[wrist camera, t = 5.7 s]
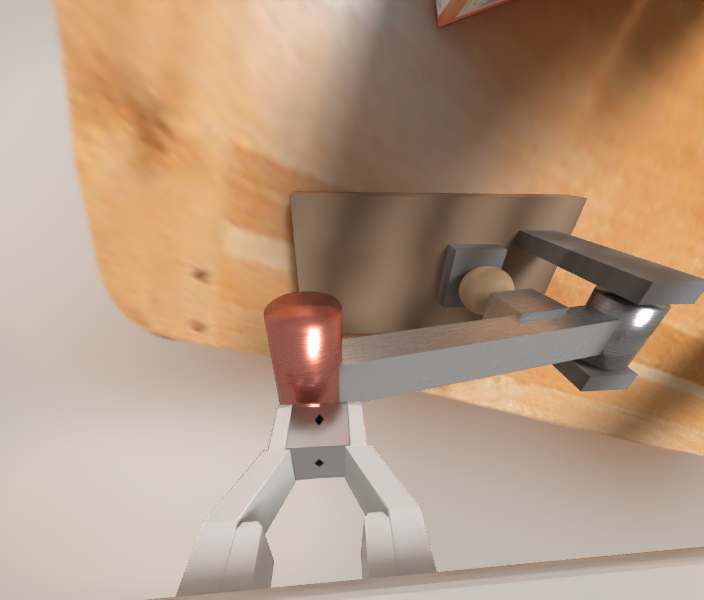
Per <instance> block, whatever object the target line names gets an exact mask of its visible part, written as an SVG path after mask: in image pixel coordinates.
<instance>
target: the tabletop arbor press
mask: <svg viewBox="0 0 704 600" xmlns="http://www.w3.org/2000/svg"><path fill="white" fill-rule="evenodd" d="M586 200H587V198H583V197H577V196H571V195H547V194H454V193H362V192H293V193H292V194H291V195H290V203H291V214H292V224H293V235H294V245H295V256H296V266H297V277H298V287H299V292H301V291H315V292H322V293H326V294H329V295H331V296H333V297H335V298H336V299H337V300H339V302H340V303H341V305H342V334H367V333H391V332H399V331H406V330H413V329H420V328H427V327H434V326H441V325H448V324H456V323H463V322H470V321H477V320H482V317H483V314H484V311H485V308H486V305H487V302H488V299H489V296H490V293H495V292H503V291H512V290H521V289H530V288H532V289H534V290H536V291H538V292H540V293H542V294H543V295H544V294H545V292H546V290H547V288H548V285H549V283H550V281H551V279H552V276H553V274H554V272H555V270H556V267H557V266H558V267H560V268H562V269H565V270H567V271H569V272H571V273H573V274H575V275H577V276H579V277H581V278H583V279H585V280H587V281H589V282H592V283H594V284H596V285H598V286H600V287H602V288H604V289H606V290H608V291H610V292H612V293H614V294H616V295H619V296H621V297H623V298H625V299H627V300H629V301H631V302H633V303H635V304H637V305H658V304H694V303H695V302H696V300H697V299H698V298H699V297H700V295H701V294H702V293H703V292H704V279H702V278H699V277H696V276H693V275H690V274H687V273H684V272H681V271H678V270H675V269H672V268H669V267H666V266H663V265H660V264H657V263H653V262H650V261H647V260H644V259H641V258H638V257H635V256H632V255H629V254H626V253H623V252H620V251H617V250H614V249H611V248H608V247H605V246H602V245H599V244H595V243H592V242H589V241H586V240H583V239H580V238H577V237H574V236H571V233H572V231H573V229H574V227H575V224H576V222H577V220H578V218H579V215H580V213H581V211H582V209H583V206H584V204H585V202H586ZM552 365H553V366H554V367H555V368H557V369H558V370H559V371H560V372H561V373H562V374H563V375H564V376H565V377H566V378H567V379H568V380H569V381H570V382H571V383H573V384H574V385H575V386H576V387H577V388H578V389H579V390H580V391H598V390H617V389H627V388H628V387H629V386H630V384H631V383H632V382H633V381H634V379H635V378H636V377H637V376H638V374H637V373H635V372H634V371H632V370H631V369H629V368H628V367H627V368H626V369H624V370H620V371H613V370H607V369H602V368H599V367H596V366H593V365H591V364H588V363H586V362H584V361H582V360H580V359H575V360H570V361H565V362H560V363H555V364H552Z"/></svg>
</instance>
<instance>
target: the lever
mask: <svg viewBox="0 0 704 600" xmlns="http://www.w3.org/2000/svg"><path fill="white" fill-rule="evenodd" d="M670 308H671V307H670V305H669V304H658V305H637V304H635V303H633V302H631V301H629V300H627V299H625V298H623V297H621V296H619V295H616V294H614V293H612V292H610V291H608V290H606V289H604V288H602V287H600V286H596V287H595V288H594V290H593V292H592V294H591V295H590V297H589V299H588V301H587V303H586V305H584V306H577V307H570V308H568V307H566V306H564V305H562V304H561V303H559V302H557V301H555V300H553V299H551V298H549V297H547V296H545V295H543V294H542V293H540V292H538V291H536V290H534V289H532V288H530V289H521V290H512V291H503V292H495V293H490V296H489V299H488V302H487V305H486V308H485V311H484V314H483V317H482V320H477V321H470V322H463V323H456V324H448V325H441V326H434V327H427V328H420V329H413V330H406V331H399V332H391V333H384V334H377V335H370V336H363V337H356V338H349V339H342V305H341V303H340V302H339V300H337V299H336V298H335V297H333V296H331V295H329V294H326V293H322V292H315V291H301V292H294V293H290V294H286V295H283V296H281V297H278V298H276V299H275V300H273V301H272V302H270V303H269V304H268V305H267V307H266V308H265V310H264V319H265V325H266V330H267V336H268V341H269V347H270V352H271V358H272V364H273V369H274V375H275V380H276V385H277V391H278V396H279V402H280V405H284V404H320V403H330V402H346V401H347V402H353V401H360V402H364V401H369V400H374V399H379V398H384V397H389V396H394V395H399V394H405V393H409V392H415V391H420V390H425V389H430V388H435V387H440V386H445V385H450V384H455V383H460V382H465V381H470V380H475V379H480V378H485V377H490V376H495V375H500V374H505V373H510V372H515V371H520V370H525V369H530V368H535V367H540V366H545V365H550V364H555V363H560V362H565V361H570V360H575V359H580V360H582V361H584V362H586V363H588V364H591V365H593V366H596V367H599V368H602V369H607V370H613V371H620V370H624V369H626V368H627V366H628V365H629V364H630V362H631V361H632V360H633V358H634V357H635V356H636V354H637V353H638V352H639V350H640V349H641V348H642V346H643V345H644V344H645V342H646V341H647V339H648V338H649V337H650V335H651V334H652V333H653V331H654V330H655V329H656V327H657V326H658V325H659V323H660V322H661V321H662V319H663V318H664V317H665V315H666V314H667V313H668V311H669V310H670Z"/></svg>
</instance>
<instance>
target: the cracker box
mask: <svg viewBox="0 0 704 600" xmlns="http://www.w3.org/2000/svg"><path fill="white" fill-rule="evenodd" d="M508 1H511V0H435V2H436V11H437V26H438V27H442V26H444V25H447V24H450V23H452V22H455V21H457V20H460V19H463V18H465V17H468V16H471V15H473V14H476V13H479V12H482V11H484V10H487V9H490V8H492V7H495V6H498V5H500V4H503V3H505V2H508Z"/></svg>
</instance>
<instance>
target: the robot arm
mask: <svg viewBox="0 0 704 600" xmlns="http://www.w3.org/2000/svg"><path fill="white" fill-rule="evenodd" d="M320 477H321V478H328V477H345V479H346V481H347V483H348V485H349V486H350V488H351V490H352V492H353V494H354V495H355V497H356V499H357V501H358V503H359V504H360V506H361V508H362V510H363V511H364V513H365V515H366V517H365V519H364V528H363V539H362V548H361V560H362V575H363V579H361V580H350V581H339V582H328V583H317V584H307V585H297V586H287V587H275V588H270V587H271V579H272V572H273V564H274V560H273V557H272V554H271V551H270V548H269V545H268V542H267V539H266V537H265V533H266V532H267V530H268V528H269V526H270V525H271V523H272V521H273V520H274V518H275V516H276V515H277V513H278V511H279V509H280V508H281V506H282V504H283V503H284V501H285V499H286V497H287V496H288V494H289V492H290V491H291V489H292V487H293V485H294V484H295V480H302V479H312V478H320ZM150 600H704V547H696V548H686V549H675V550H664V551H655V552H644V553H634V554H623V555H612V556H601V557H591V558H581V559H570V560H560V561H549V562H538V563H528V564H517V565H507V566H497V567H486V568H476V569H465V570H454V571H444V572H437V571H436V567H435V564H434V560H433V556H432V552H431V548H430V544H429V540H428V536H427V532H426V528H425V524H424V520H423V516H422V513H421V508H420V507H419V505H418V504H417V503H416V501H415V500H414V499H413V498H412V496H411V495H410V494H409V493H408V491H407V490H406V489H405V487H404V486H403V485H402V484H401V482H400V481H399V480H398V478H397V477H396V476H395V475H394V474H393V472H392V471H391V470H390V468H389V467H388V466H387V465H386V464H385V462H384V461H383V459H382V458H381V457H380V456H379V454H378V453H377V452H376V451H375V449H374V448H373V447H372V446H371V445H367V444H366V435H365V427H364V419H363V411H362V404H361V402H360V401H353V402H347V401H346V402H330V403H320V404H284V405H279V406H278V408H277V411H276V415H275V421H274V425H273V429H272V434H271V438H270V443H269V447H268V450H266V451H263V452H262V453H261V454H260V455H259V457H258V458H257V459H256V460H255V461H254V462H253V464H252V465H251V466H250V467H249V468H248V470H247V471H246V472H245V473H244V474H243V475H242V477H241V478H240V479H239V480H238V481H237V483H236V484H235V485H234V486H233V487H232V488H231V490H230V491H229V492H228V493H227V494H226V496H225V497H224V498H223V499H222V500H221V502H220V503H219V504H218V505H217V506H216V507H215V509H214V510H213V511H212V512H211V513H210V515H209V516H208V517H207V518H206V519H205V520H204V522H203V523H202V525H201V527H200V530H199V533H198V536H197V539H196V541H195V544H194V547H193V550H192V553H191V555H190V558H189V561H188V564H187V567H186V569H185V572H184V575H183V578H182V581H181V583H180V586H179V589H178V592H177V594H176V597H170V598H160V599H150Z"/></svg>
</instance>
